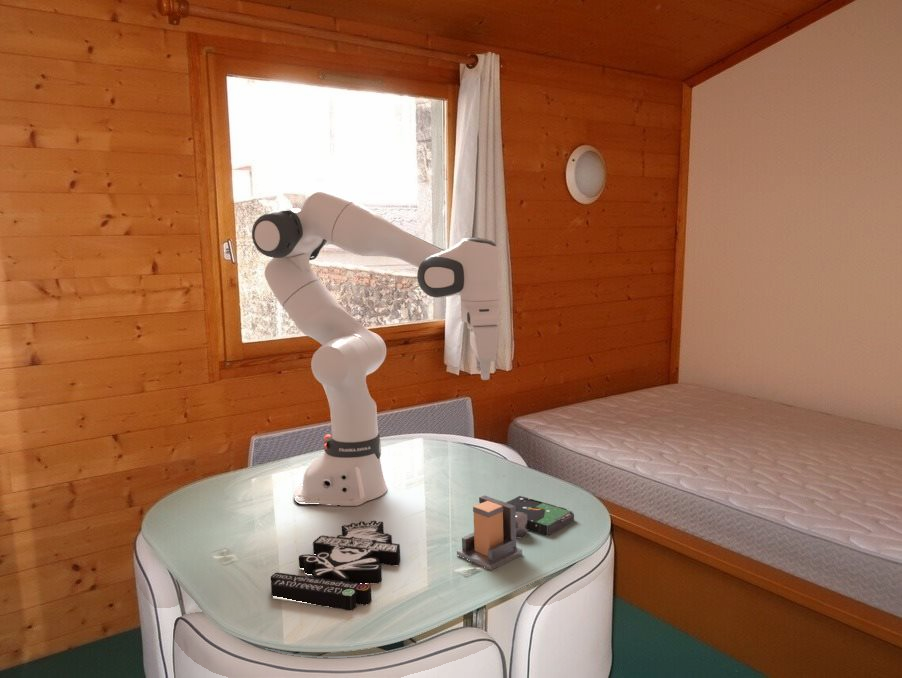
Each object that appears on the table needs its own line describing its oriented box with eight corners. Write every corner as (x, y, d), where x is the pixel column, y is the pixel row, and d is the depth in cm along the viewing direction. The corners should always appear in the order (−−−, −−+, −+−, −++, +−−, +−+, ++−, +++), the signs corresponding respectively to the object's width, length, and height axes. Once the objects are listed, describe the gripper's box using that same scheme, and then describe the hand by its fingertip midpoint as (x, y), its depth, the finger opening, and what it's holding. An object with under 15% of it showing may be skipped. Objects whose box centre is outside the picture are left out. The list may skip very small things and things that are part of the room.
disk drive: (491, 521, 156) (548, 538, 146) (491, 509, 155) (548, 525, 145) (519, 506, 163) (575, 521, 154) (519, 495, 163) (575, 509, 153)
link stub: (509, 538, 145) (509, 520, 145) (507, 530, 149) (506, 512, 149) (529, 537, 146) (528, 518, 145) (525, 529, 150) (525, 511, 149)
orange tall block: (489, 556, 135) (488, 512, 134) (474, 550, 138) (473, 506, 137) (504, 549, 138) (503, 505, 137) (488, 543, 141) (487, 500, 140)
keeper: (490, 570, 132) (489, 522, 130) (453, 554, 139) (452, 508, 138) (522, 554, 138) (521, 508, 137) (485, 539, 145) (484, 495, 144)
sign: (262, 584, 124) (339, 517, 153) (263, 600, 125) (340, 530, 153) (361, 598, 119) (422, 525, 147) (362, 614, 119) (423, 539, 147)
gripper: (463, 307, 164) (464, 366, 166) (471, 318, 144) (472, 385, 146) (490, 306, 164) (491, 365, 167) (501, 317, 144) (503, 384, 146)
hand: (482, 374), depth 156 cm, fingers open, 8 cm apart
